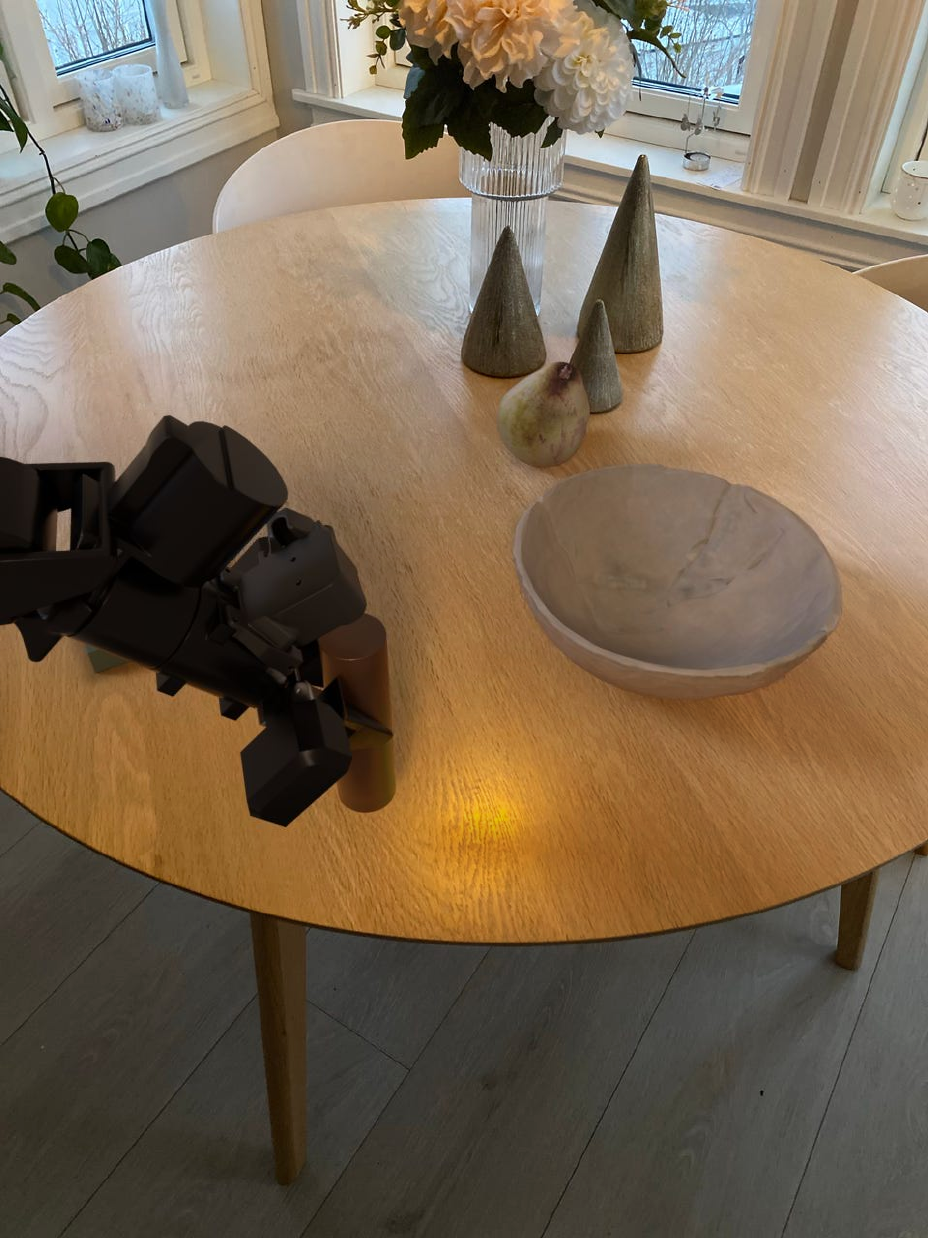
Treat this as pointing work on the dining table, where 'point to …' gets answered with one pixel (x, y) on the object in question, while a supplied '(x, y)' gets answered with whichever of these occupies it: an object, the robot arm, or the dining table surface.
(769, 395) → the dining table surface
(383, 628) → the dowel
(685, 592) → the bowl
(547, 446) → the fruit
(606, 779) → the dining table surface
